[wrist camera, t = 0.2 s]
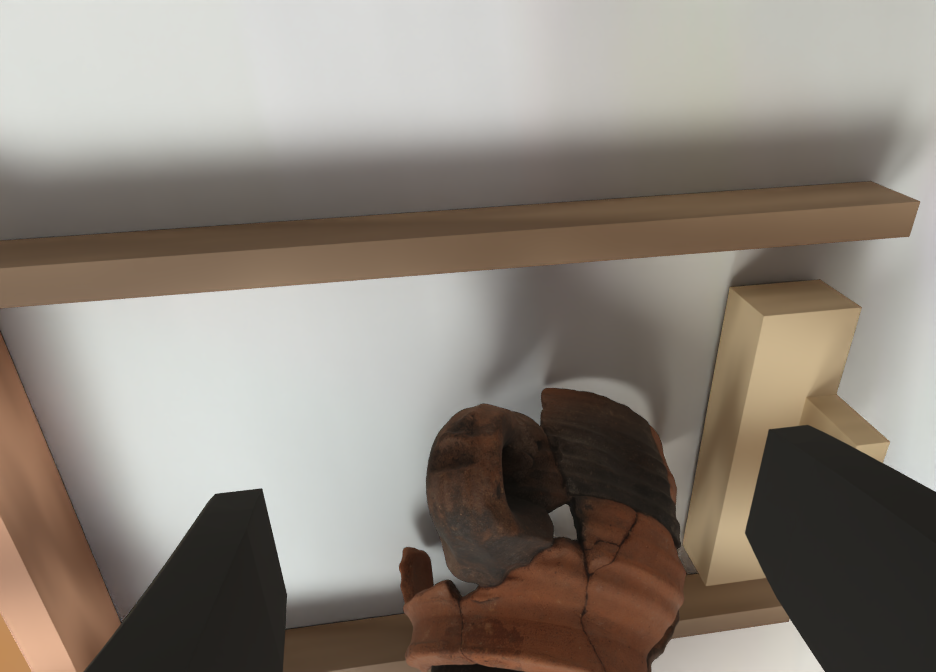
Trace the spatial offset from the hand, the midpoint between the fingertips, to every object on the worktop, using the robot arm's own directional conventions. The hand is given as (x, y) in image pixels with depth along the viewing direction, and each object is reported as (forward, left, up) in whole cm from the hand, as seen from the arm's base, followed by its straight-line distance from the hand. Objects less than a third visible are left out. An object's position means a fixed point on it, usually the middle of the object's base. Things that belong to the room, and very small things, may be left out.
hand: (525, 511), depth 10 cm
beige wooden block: (-7, -10, -11) cm, 17 cm away
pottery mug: (-7, -3, -12) cm, 14 cm away
